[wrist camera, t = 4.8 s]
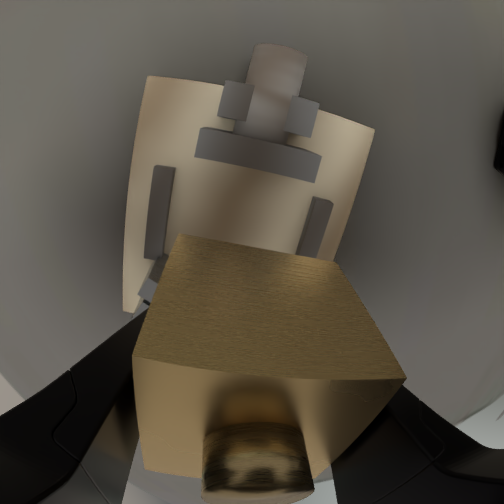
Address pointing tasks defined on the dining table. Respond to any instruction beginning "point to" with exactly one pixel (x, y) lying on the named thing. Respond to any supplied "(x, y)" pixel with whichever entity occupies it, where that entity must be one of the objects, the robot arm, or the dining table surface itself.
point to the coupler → (255, 371)
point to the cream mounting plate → (240, 166)
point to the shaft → (150, 284)
